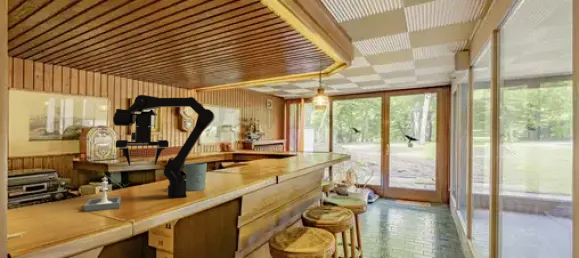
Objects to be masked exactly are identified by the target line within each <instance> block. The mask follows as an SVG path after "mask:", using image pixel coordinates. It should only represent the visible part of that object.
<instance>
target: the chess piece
mask: <svg viewBox="0 0 579 258" xmlns="http://www.w3.org/2000/svg"><path fill="white" fill-rule="evenodd" d="M101 181H102V182H101V183H100V184H101V186H102V188H101V189H100V190H101V191H102V195H101V198H102V200H101V202H99V203H97V204H106V203H112V202H111V201H108V200H107V198H108V196H107V191H108V190H109V188H108V184H109V181H108V178H107V177H106V176H103V178H101Z"/></svg>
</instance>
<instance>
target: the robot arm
mask: <svg viewBox="0 0 579 258" xmlns="http://www.w3.org/2000/svg"><path fill="white" fill-rule="evenodd" d="M188 107H189V108H191V109H192V110H193V111H194V112H195V113H196V114H197V119H196V122H195V126H194V127H193V129H192V131H191V132H190V134H189V135H188V137H187V139H186V140H185V142H184V144H183V145H182V147H180V150H179V151H178V153H177V154H176V156H175V157H173V156H171V157H169V158H168V160H167V162H166V164H165V165H164V166H163V168H164V169H163V174H164V176H165V178H166V179H168V180H167V181H168V185H167V196H168V197H169V199H177V198H186V197H187V190H186V180H185V179H186V176H187V174H186V173H185V171H183V170H184V169H183V168H184V164H186V160H187V158H188V156H189V155H190V153H191V151H192V150H193V148H194V147H195V145H196V144H197V142H198V140H199V139H200V137H201V136H202V134H203V132H204V131H205V130H206V129H207V128H208V127H209V126H210V125H211V124H212V123H214V121H215V113H214V112H213V111H212V110H211V109H208V108H206V107H204V106H203V105H202V104H201V103H200V102H199V101H198V100H197V99H196V98H195V97H193V96H189V97H157V96H153V95H152V96H151V95H145V94H139V95H137V96H136V97H135V98H134V102H133V103H132V105H131V106H129V108H128V109H121V108H116V109H115V112H114V115H113V117H112V122H113V124H114V126H116V127H132V126H133V125H135V132H131V135H130V136H131V141H129V139H118V140H116V141H115V148H119V151H122V152H123V154H124V156H125V158H126V162H127V164H128V166H131V157H130V150H129V149H130V148H129V147H150V146H152V147H155V146H156V149H155V157H154V165H157V162H158V160H159V158H160V155H161V154H162V151H163V150H165V149H166V148H169V146H170V144H169V140H166V139H158V140H157V141H152V118H153V117H152V116H155V117H156V116H158V114H157V112H155V111H154V110H157V109H160V108H188Z"/></svg>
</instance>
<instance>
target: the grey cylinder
mask: <svg viewBox="0 0 579 258" xmlns="http://www.w3.org/2000/svg"><path fill="white" fill-rule="evenodd" d="M207 164H208V163H207V162H189V163H188V162H187V163H186V162H185V163H184V166H183V168H184V169H183V170H184V173H186V174H187V176H186V179H185V180H186V192H187V191H188V192H200V191H205V190H206V184H207V182H206V180H207V179H206V178H207V168H208V167H207Z"/></svg>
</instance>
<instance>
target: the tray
mask: <svg viewBox="0 0 579 258" xmlns="http://www.w3.org/2000/svg"><path fill="white" fill-rule="evenodd" d="M101 200H102V197H100V198H89V199H88V200H87V201H86V203H85V204H84V207H83V208H84V209H83V211H84V213H88V212H97V211H99V210H100V211H108V210H109V209H110V210H118V209H120V206H121V204H122V203H121V202H122V196H115V197H107V200H108V201H111V202H112V203H106V204H97V203H99V202H101ZM107 209H108V210H107ZM110 210H109V211H110Z"/></svg>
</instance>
